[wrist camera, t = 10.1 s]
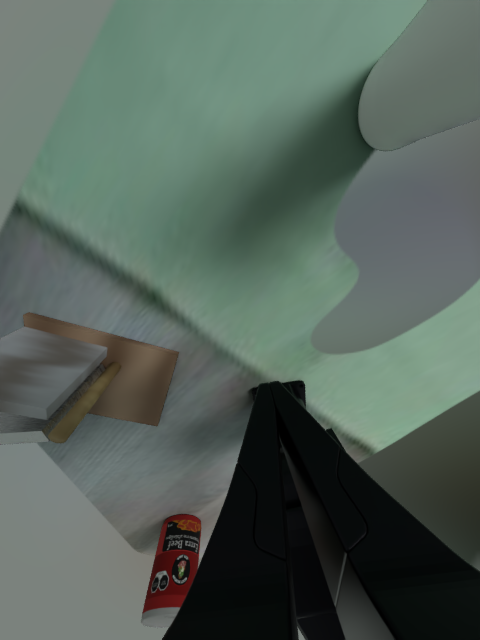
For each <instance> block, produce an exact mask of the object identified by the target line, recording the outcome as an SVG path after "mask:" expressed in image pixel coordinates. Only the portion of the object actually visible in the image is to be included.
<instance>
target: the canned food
mask: <svg viewBox="0 0 480 640" xmlns="http://www.w3.org/2000/svg"><path fill="white" fill-rule="evenodd" d="M200 537H201V521H200V520H199V519H198V518H197V517H195V516H193V515H188V514H179V515H174V516H171V517H169V518H167V519H166V520H165V522H164V524H163V526H162V529H161V534H160V538H159V542H158V547H157V551H156V555H155V560H154V564H153V569H152V573H151V578H150V582H149V586H148V590H147V595H146V599H145V604H144V609H143V613H142V619H141V623H142V624H143V625H145V626H149V627H161V628H162V627H170V625H171V624H172V622H173V620H174V618H175V617H176V615H177V613H178V611H179V609H180V607H181V605H182V603H183V601H184V599H185V597H186V595H187V593H188V591H189V589H190V586H191V584H192V582H193V580H194V577H195V575H196V572H197V570H198V559H199V548H200Z"/></svg>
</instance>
